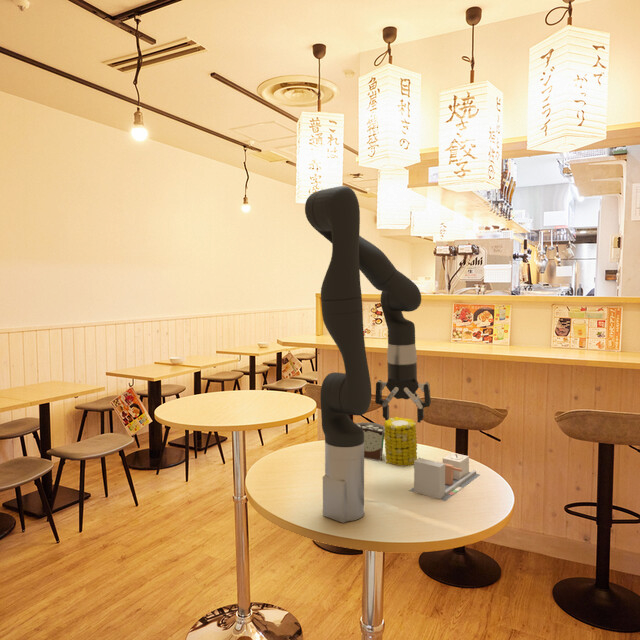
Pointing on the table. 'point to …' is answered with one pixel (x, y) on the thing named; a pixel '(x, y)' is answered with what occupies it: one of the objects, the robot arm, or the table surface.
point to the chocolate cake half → (373, 440)
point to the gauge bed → (437, 480)
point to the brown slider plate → (450, 473)
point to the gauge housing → (458, 464)
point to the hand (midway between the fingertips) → (403, 420)
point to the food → (400, 441)
